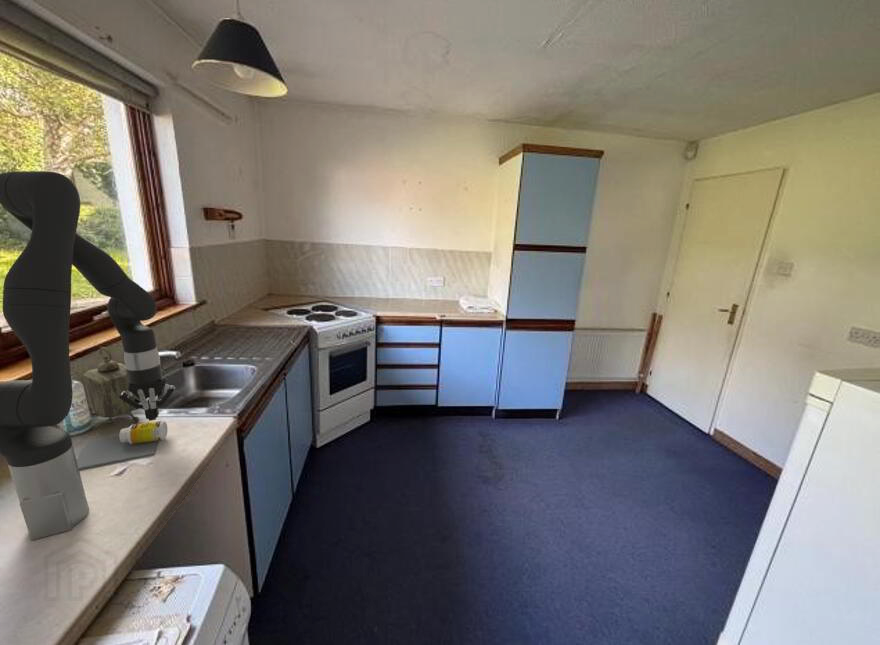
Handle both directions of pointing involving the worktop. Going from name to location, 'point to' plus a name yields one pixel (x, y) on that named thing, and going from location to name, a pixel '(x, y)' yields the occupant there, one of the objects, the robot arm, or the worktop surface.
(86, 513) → the robot arm
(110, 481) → the worktop surface
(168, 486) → the worktop surface
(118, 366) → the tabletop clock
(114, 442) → the mat
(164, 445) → the worktop surface
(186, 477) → the worktop surface
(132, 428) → the supplement bottle
